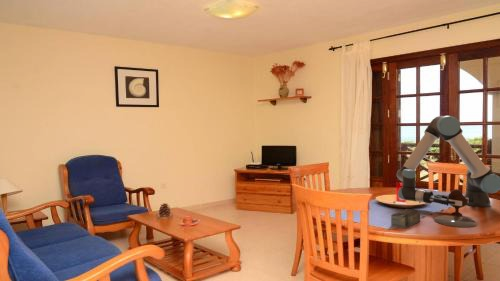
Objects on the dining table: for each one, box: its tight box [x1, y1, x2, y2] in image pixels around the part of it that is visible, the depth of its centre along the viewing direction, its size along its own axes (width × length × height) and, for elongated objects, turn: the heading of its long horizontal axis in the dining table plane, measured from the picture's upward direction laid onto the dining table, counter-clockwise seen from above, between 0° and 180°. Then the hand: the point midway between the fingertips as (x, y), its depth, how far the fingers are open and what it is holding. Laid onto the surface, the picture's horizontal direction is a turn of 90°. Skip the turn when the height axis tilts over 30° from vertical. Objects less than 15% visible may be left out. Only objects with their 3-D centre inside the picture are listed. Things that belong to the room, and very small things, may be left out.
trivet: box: [433, 215, 478, 228], centre depth 195 cm, size 20×20×1 cm
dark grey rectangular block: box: [390, 208, 421, 229], centre depth 193 cm, size 8×19×7 cm, turn 134°
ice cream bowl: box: [447, 188, 468, 217], centre depth 209 cm, size 11×11×15 cm
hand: (465, 202), depth 207 cm, fingers closed on ice cream bowl, 11 cm apart
